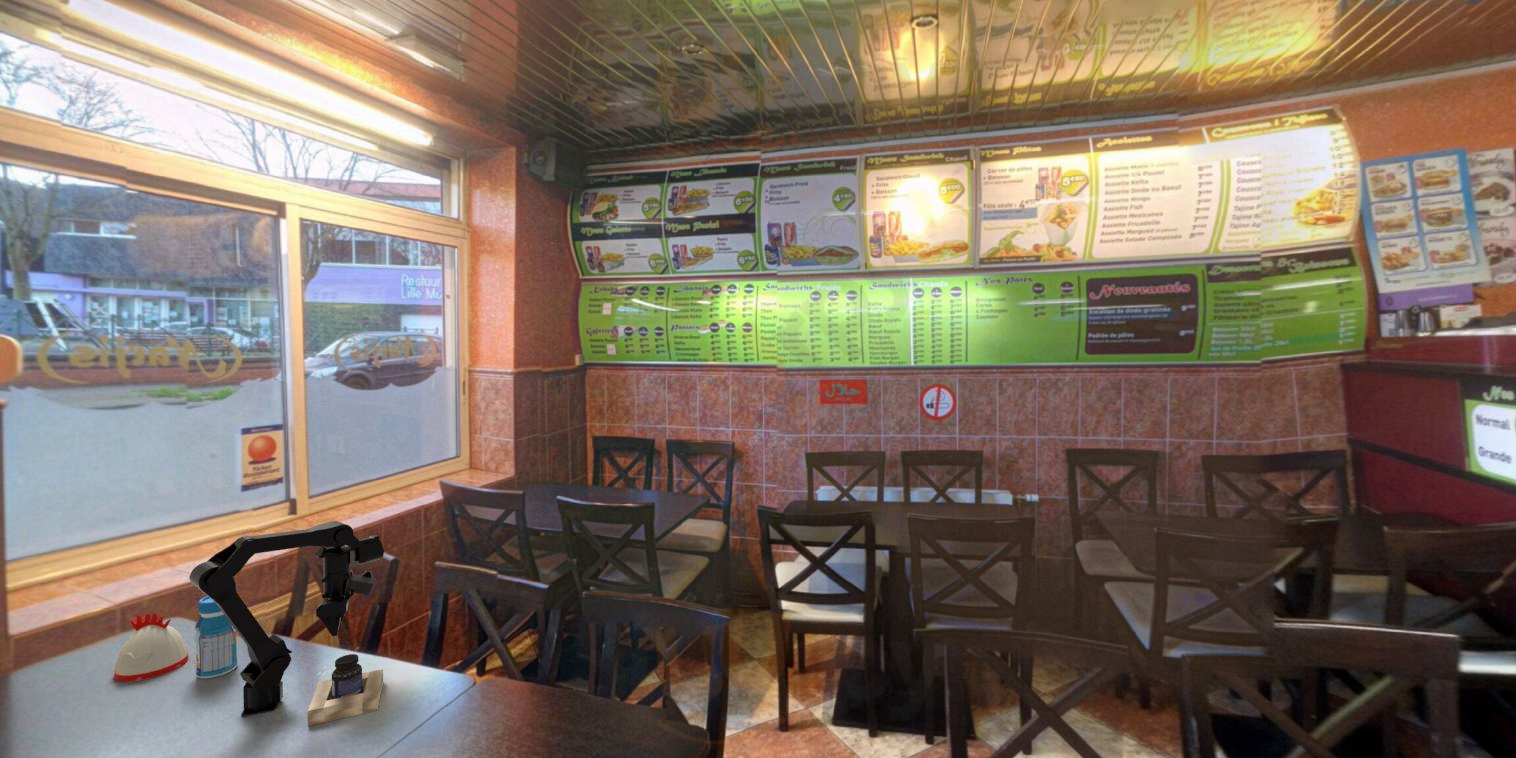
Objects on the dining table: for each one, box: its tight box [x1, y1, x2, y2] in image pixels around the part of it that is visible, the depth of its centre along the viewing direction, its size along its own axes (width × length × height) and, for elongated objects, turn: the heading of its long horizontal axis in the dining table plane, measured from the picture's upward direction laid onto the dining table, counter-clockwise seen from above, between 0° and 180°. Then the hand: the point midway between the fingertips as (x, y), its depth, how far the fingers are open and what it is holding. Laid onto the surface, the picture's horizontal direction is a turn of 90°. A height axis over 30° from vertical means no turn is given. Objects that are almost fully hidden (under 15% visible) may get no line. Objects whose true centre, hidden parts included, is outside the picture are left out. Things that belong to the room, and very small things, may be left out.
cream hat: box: [113, 611, 189, 683], centre depth 158 cm, size 14×14×15 cm
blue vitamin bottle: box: [194, 595, 238, 679], centre depth 156 cm, size 8×8×20 cm
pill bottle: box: [331, 653, 363, 699], centre depth 144 cm, size 6×6×11 cm
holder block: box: [307, 668, 384, 727], centre depth 144 cm, size 14×14×4 cm
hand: (337, 628), depth 155 cm, fingers open, 9 cm apart
